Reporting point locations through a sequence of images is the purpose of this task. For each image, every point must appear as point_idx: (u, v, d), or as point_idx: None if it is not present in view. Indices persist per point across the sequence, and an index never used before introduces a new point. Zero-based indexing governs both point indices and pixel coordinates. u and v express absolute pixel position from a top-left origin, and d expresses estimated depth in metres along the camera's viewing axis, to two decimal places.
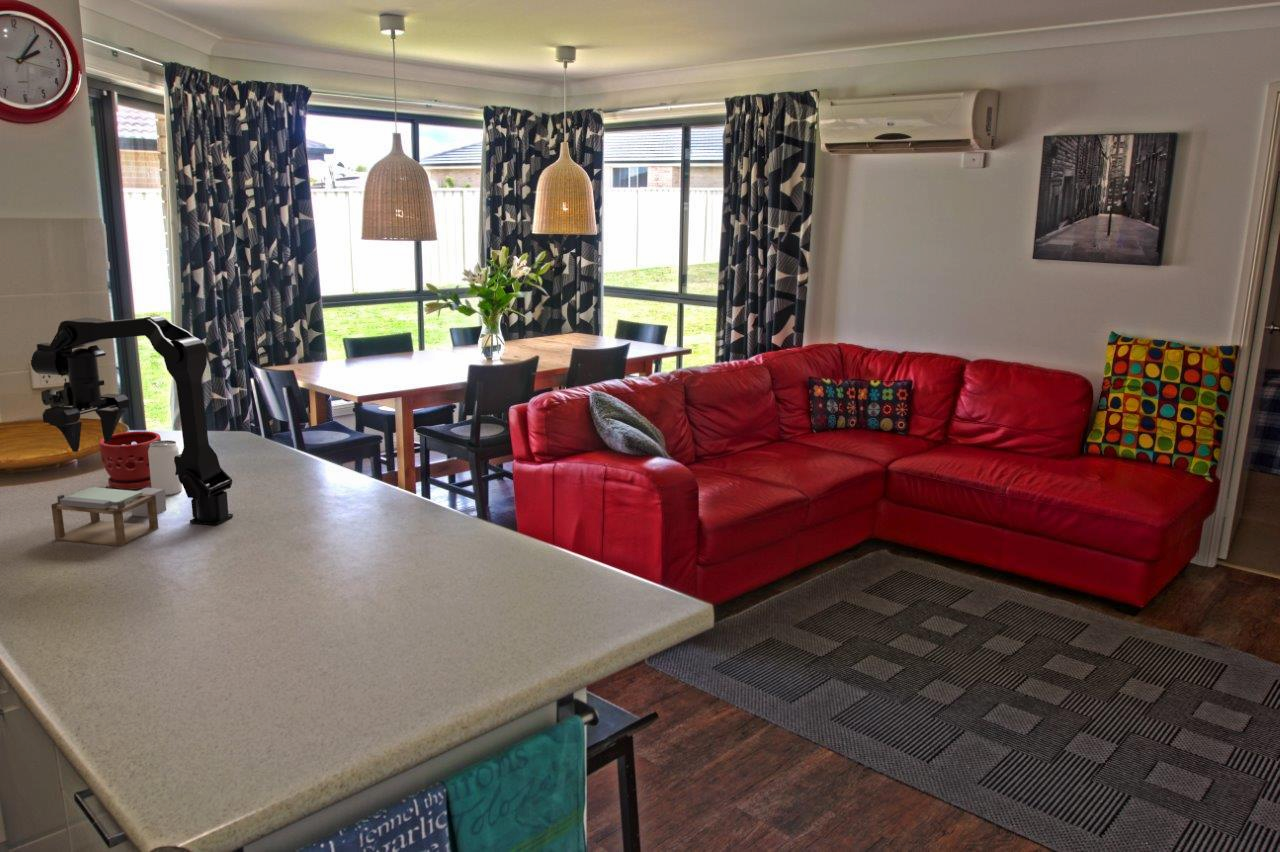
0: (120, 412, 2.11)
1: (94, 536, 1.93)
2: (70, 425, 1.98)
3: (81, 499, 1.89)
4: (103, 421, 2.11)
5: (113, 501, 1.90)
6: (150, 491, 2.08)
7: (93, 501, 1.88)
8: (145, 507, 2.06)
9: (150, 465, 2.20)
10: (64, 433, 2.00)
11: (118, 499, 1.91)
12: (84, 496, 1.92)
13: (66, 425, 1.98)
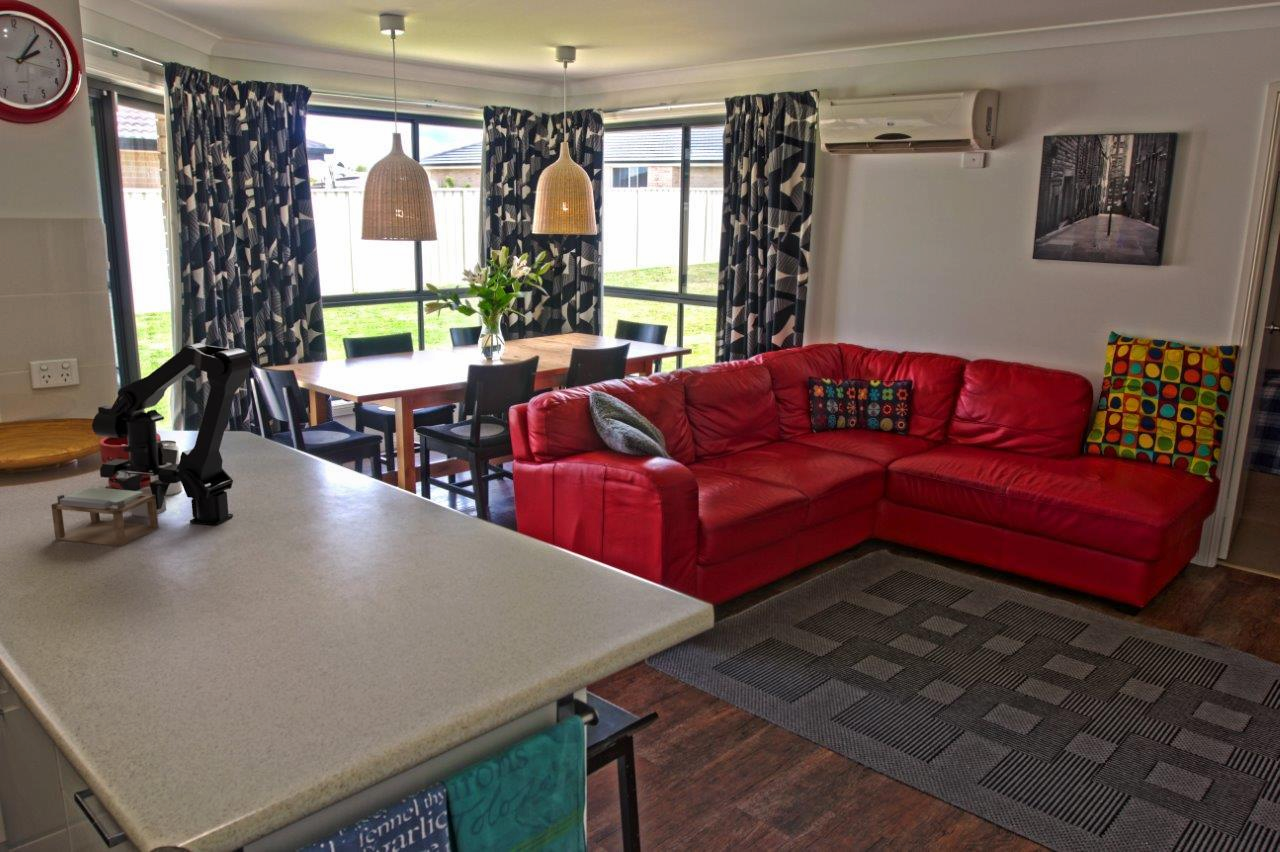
0: (153, 484, 2.04)
1: (94, 536, 1.93)
2: (114, 480, 2.06)
3: (81, 499, 1.89)
4: None
5: (113, 501, 1.90)
6: (150, 491, 2.08)
7: (93, 501, 1.88)
8: (145, 507, 2.06)
9: None
10: None
11: (118, 499, 1.91)
12: (84, 496, 1.92)
13: None
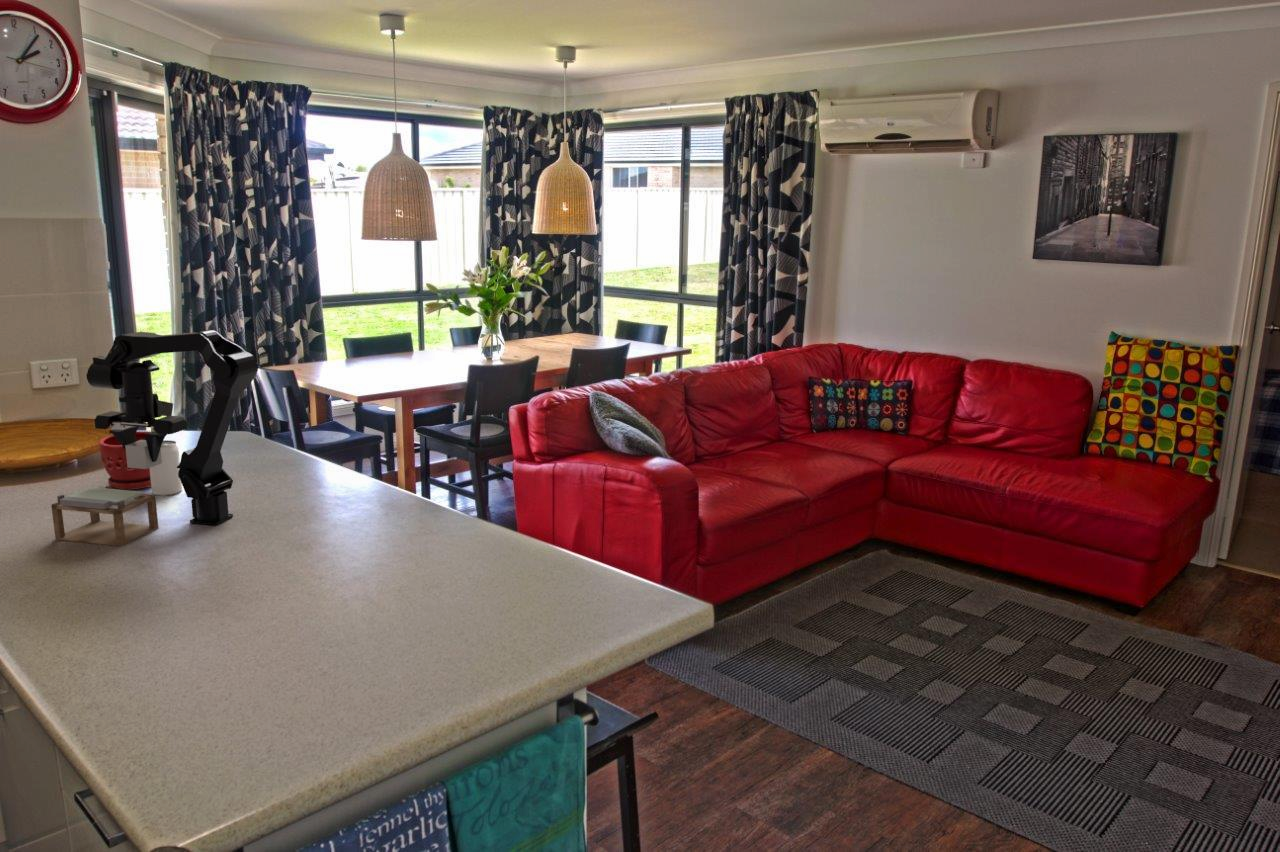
0: (148, 435, 2.02)
1: (94, 536, 1.93)
2: (109, 431, 2.03)
3: (81, 499, 1.89)
4: None
5: (113, 501, 1.90)
6: (145, 443, 2.05)
7: (93, 501, 1.88)
8: (140, 459, 2.04)
9: None
10: None
11: (118, 499, 1.91)
12: (84, 496, 1.92)
13: None
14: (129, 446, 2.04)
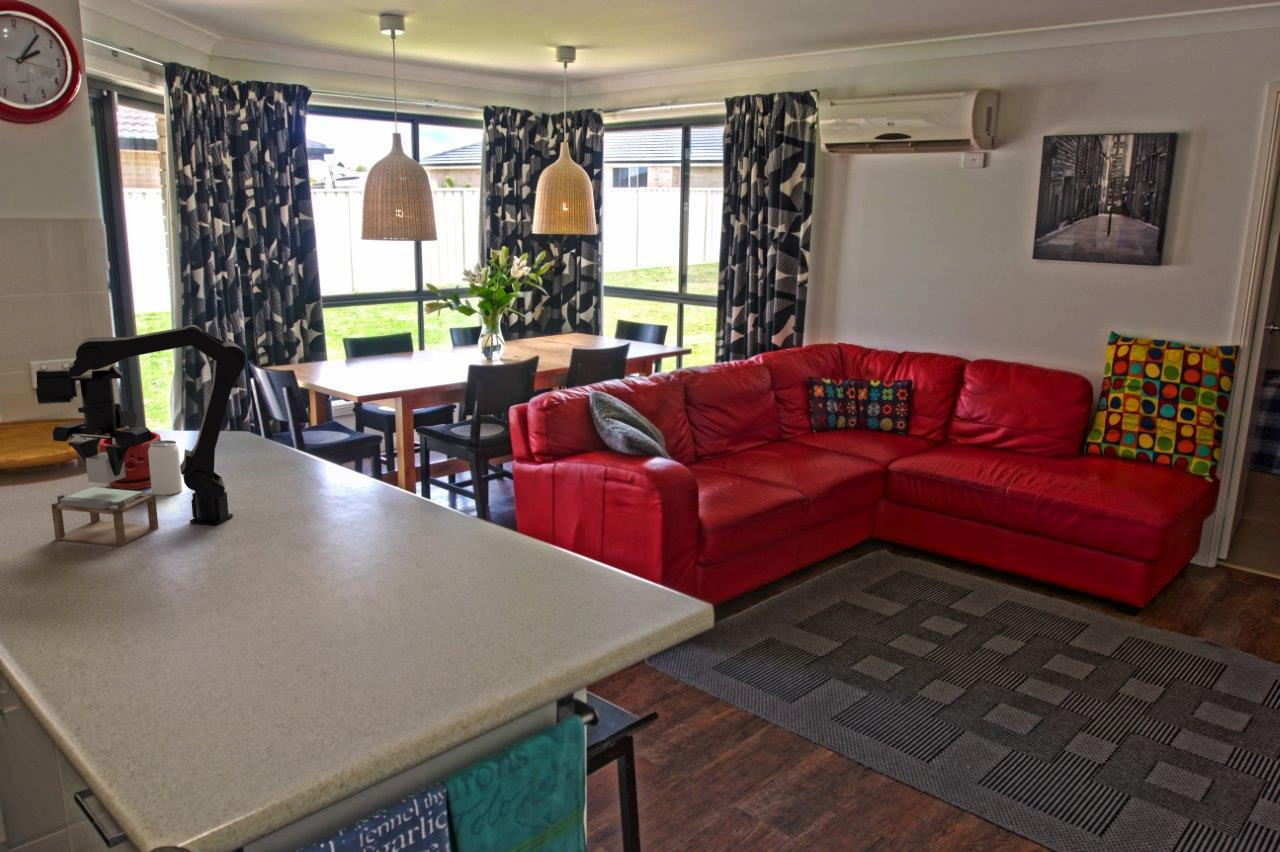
0: (109, 448, 1.89)
1: (94, 536, 1.93)
2: None
3: (81, 499, 1.89)
4: None
5: (113, 501, 1.90)
6: (107, 456, 1.93)
7: (93, 501, 1.88)
8: (101, 473, 1.91)
9: (150, 465, 2.20)
10: None
11: (118, 499, 1.91)
12: (84, 496, 1.92)
13: None
14: (89, 459, 1.91)
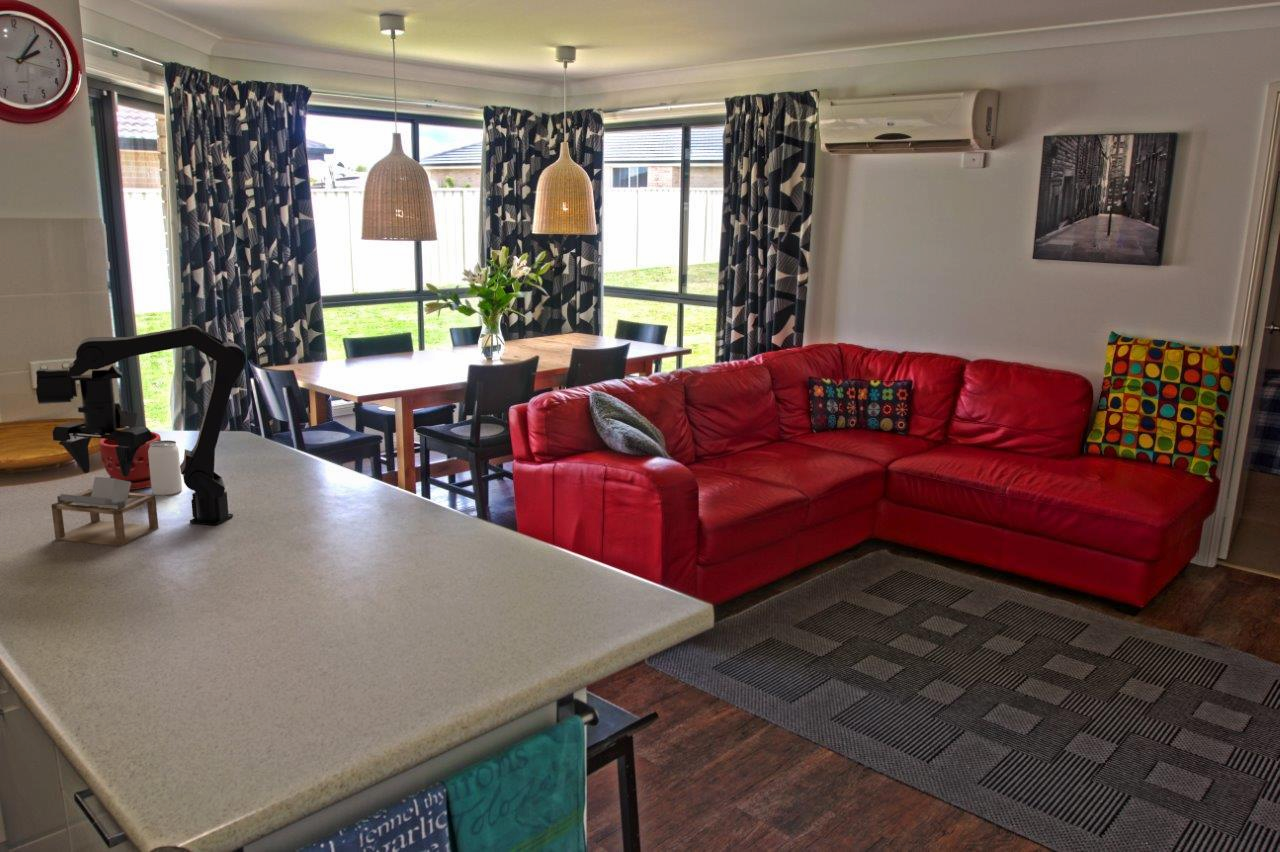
0: (119, 449, 1.89)
1: (94, 536, 1.93)
2: (59, 443, 1.91)
3: None
4: None
5: (113, 502, 1.90)
6: None
7: (94, 497, 1.89)
8: (106, 491, 1.93)
9: (150, 465, 2.20)
10: None
11: None
12: None
13: None
14: (98, 478, 1.94)
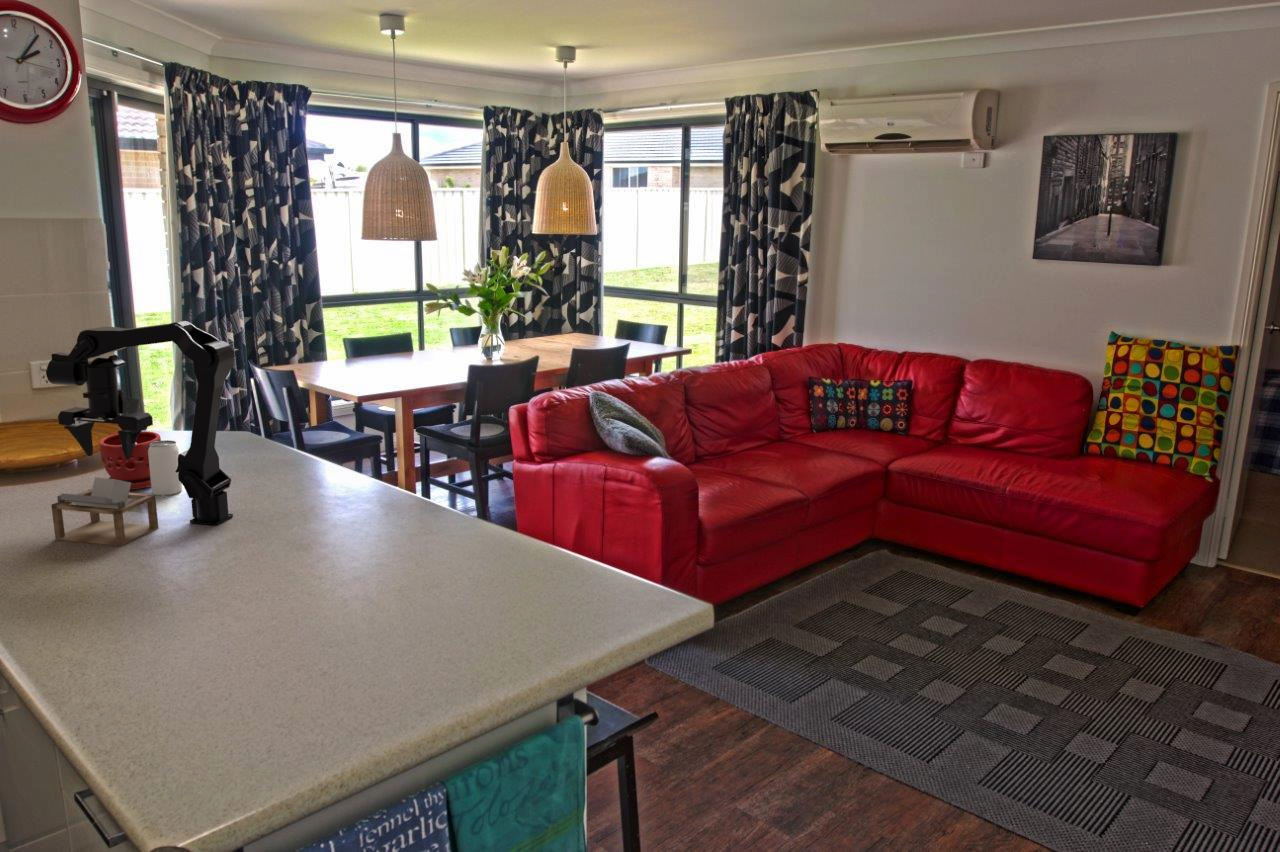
0: (122, 432, 1.99)
1: (94, 536, 1.93)
2: (64, 427, 2.01)
3: None
4: None
5: (113, 502, 1.90)
6: None
7: None
8: (106, 492, 1.93)
9: (150, 465, 2.20)
10: None
11: None
12: None
13: None
14: (98, 478, 1.94)
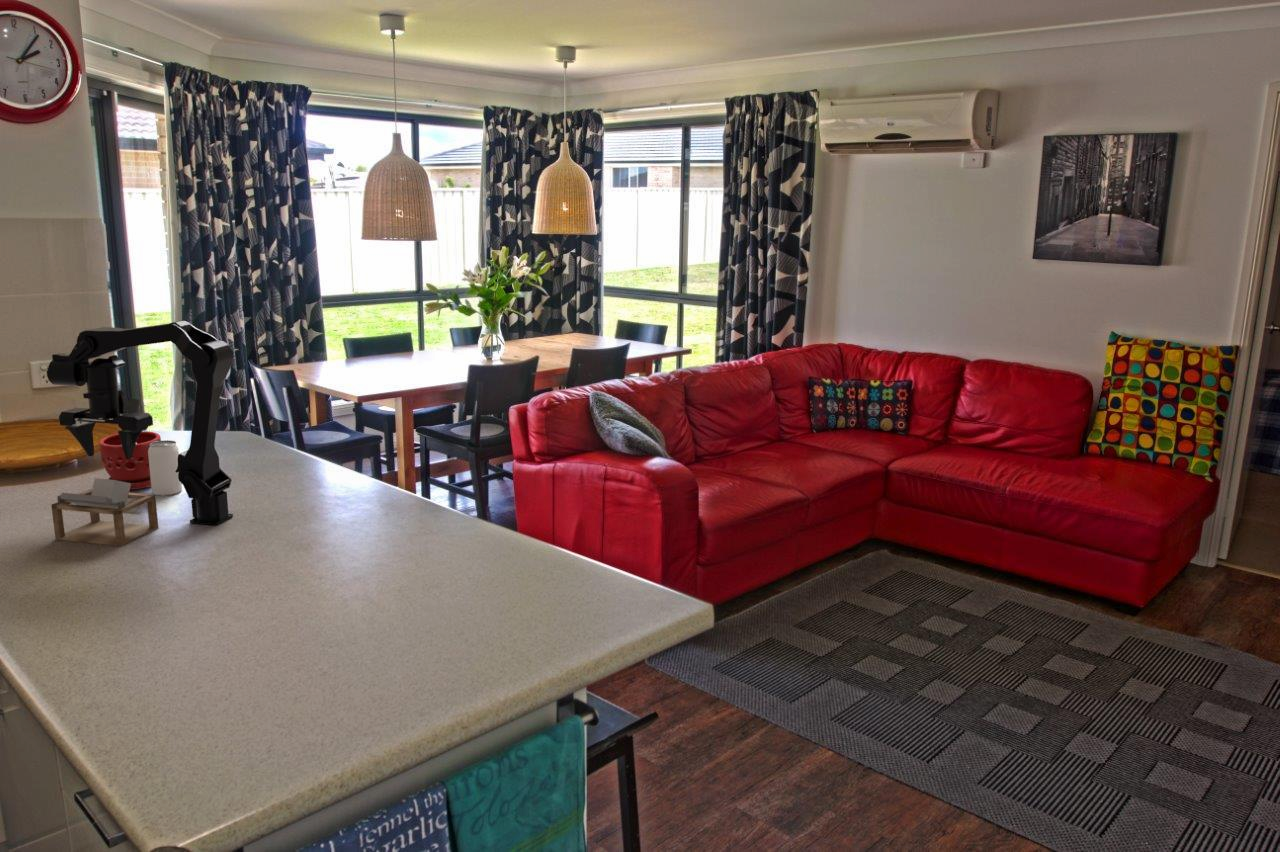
0: (122, 433, 1.99)
1: (94, 536, 1.93)
2: (65, 427, 2.02)
3: None
4: None
5: (113, 502, 1.90)
6: None
7: (95, 496, 1.89)
8: (106, 493, 1.93)
9: (150, 465, 2.20)
10: None
11: None
12: None
13: None
14: (98, 479, 1.94)
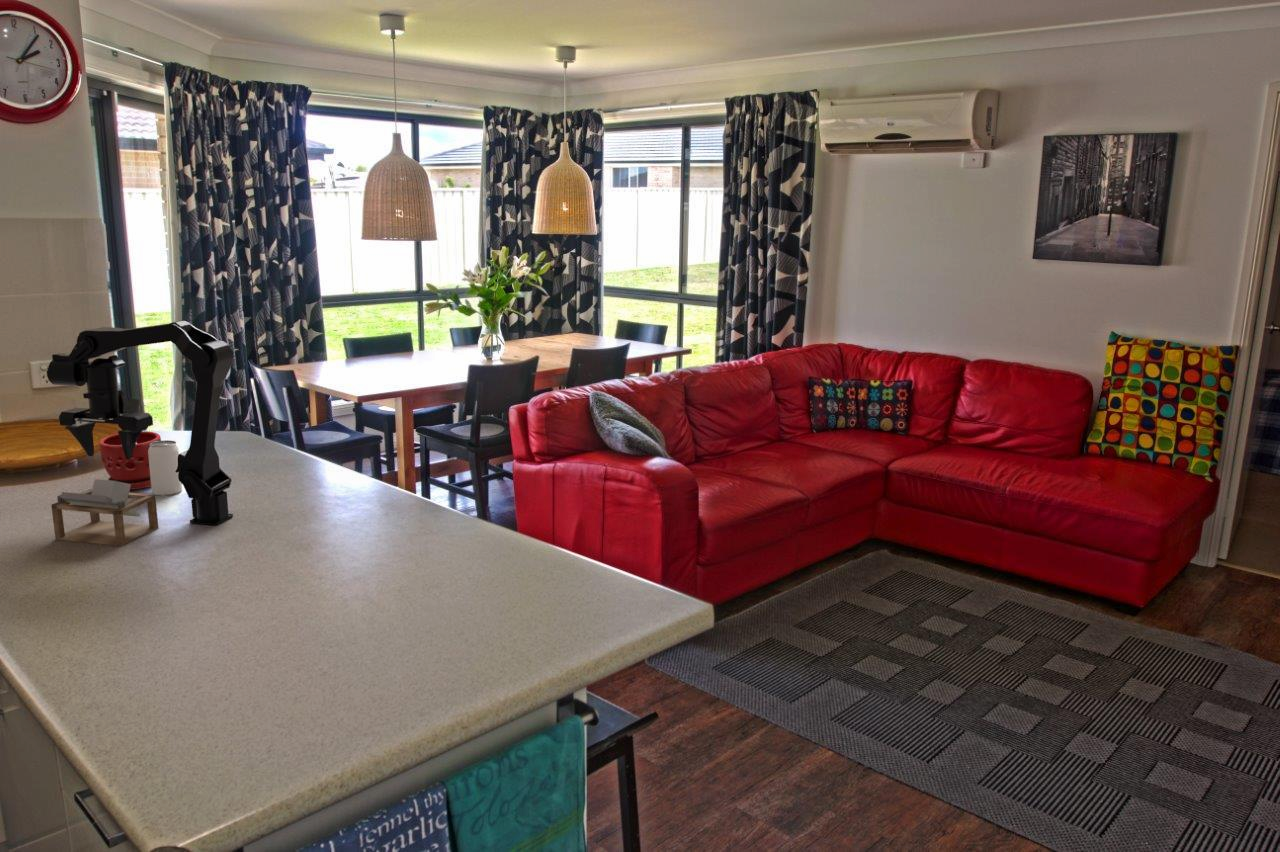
0: (122, 433, 1.99)
1: (94, 536, 1.93)
2: (65, 427, 2.02)
3: None
4: None
5: None
6: None
7: None
8: (106, 494, 1.93)
9: (150, 465, 2.20)
10: None
11: None
12: None
13: None
14: (98, 480, 1.94)
